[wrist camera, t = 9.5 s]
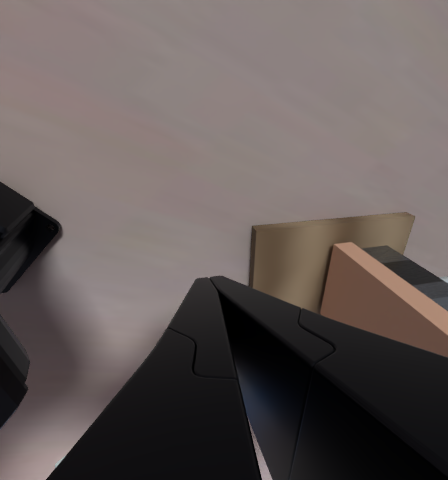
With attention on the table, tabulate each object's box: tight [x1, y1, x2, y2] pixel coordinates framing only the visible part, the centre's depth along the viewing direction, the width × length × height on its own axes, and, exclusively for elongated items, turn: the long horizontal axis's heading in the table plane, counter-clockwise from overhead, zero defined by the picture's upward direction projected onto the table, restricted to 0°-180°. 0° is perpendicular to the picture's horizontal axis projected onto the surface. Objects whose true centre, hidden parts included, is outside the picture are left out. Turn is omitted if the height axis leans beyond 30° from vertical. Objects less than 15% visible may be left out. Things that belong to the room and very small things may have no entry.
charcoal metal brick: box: [361, 245, 448, 311], centre depth 23 cm, size 4×5×7 cm
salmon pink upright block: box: [320, 242, 448, 357], centre depth 21 cm, size 10×7×10 cm
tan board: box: [249, 212, 415, 315], centre depth 25 cm, size 14×10×1 cm
